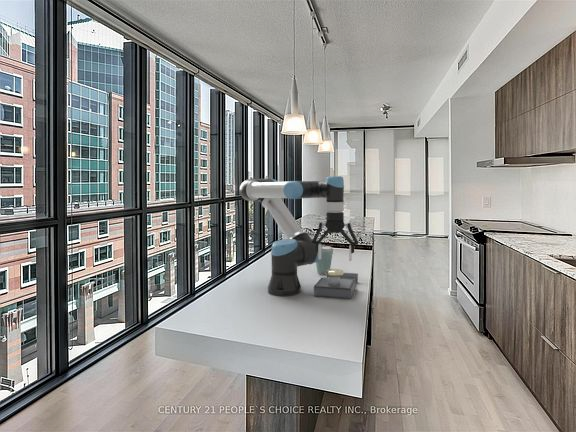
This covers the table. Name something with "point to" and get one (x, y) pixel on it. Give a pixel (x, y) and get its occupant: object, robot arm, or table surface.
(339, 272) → the disc
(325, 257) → the disposable coffee cup
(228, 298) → the table surface
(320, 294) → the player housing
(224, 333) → the table surface
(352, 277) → the tray
